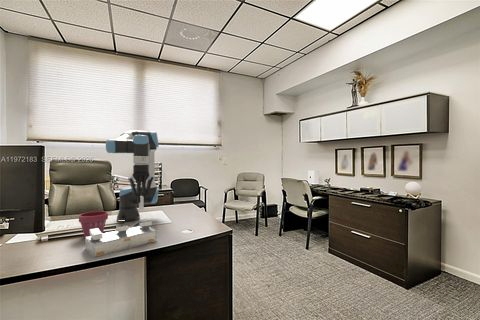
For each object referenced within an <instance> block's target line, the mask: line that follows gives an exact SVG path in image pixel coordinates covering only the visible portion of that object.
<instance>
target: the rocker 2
mask: <svg viewBox="0 0 480 320" xmlns="http://www.w3.org/2000/svg"><path fill="white" fill-rule="evenodd" d="M129 227H130V226H129V225H128V224H126V225H121V226H119V227H116V228H115V231H116V232H117V231H124V230H129Z"/></svg>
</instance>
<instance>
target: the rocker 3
mask: <svg viewBox="0 0 480 320" xmlns="http://www.w3.org/2000/svg"><path fill="white" fill-rule="evenodd" d="M142 222H143V223H139V225H140V227H142V226H148V225H153V224H152V223H153V222H152V220H148V221H142Z"/></svg>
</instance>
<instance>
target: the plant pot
mask: <svg viewBox="0 0 480 320" xmlns="http://www.w3.org/2000/svg"><path fill="white" fill-rule="evenodd" d="M108 219H109V212H108V211H105V210H96V211H87V212H83V213H80V214H78V222H79V223H80V225H81V230H82V232H83V237H84V238H85V237H87V236H91V235H90V233H89V232H90V229H95V228H98V229H99V230H100V232H101V233H104V231H105V226H106V222H107V220H108Z"/></svg>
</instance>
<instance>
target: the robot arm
mask: <svg viewBox="0 0 480 320" xmlns="http://www.w3.org/2000/svg"><path fill="white" fill-rule="evenodd" d="M159 145H160V144H159V138H158V133H157V131H153V130H129V131H125V132H123V133H121V134H120V135H119V137H118V138H116V139H114V138H112V139H107V140H106V142H105V151H106V153H108V154H132V157H133V159H132V160H133V161H132V162H133V165H132V166H133V167H132V168H133V169H132V170H133V171H132V172H133V173H132V176H130V177H128V178H127V180H128V182H129V184H130V186H127V187H123V188H121V189H120V190H119V196H118V197H119V210H118V213H117V214H116V215H117V217H116V221H117V220H125V221H126V222H127V223H128V222H133V221H137V220H140V218H141V216H140V211H139V209H140V210H144V209H145V208H144V205H151V204H152V205H153V204H157V202H158V197H159V191H160V188H159V187H158V185H157V184H156V182H155V179H156V177H155V175H156V174H155V171H156V170H155V164H156V163H155V159H156V158H155V152H156V151H157V149H158V148H159ZM134 180H135V181H134ZM135 182H136V184H135ZM126 222H125V223H126Z"/></svg>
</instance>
